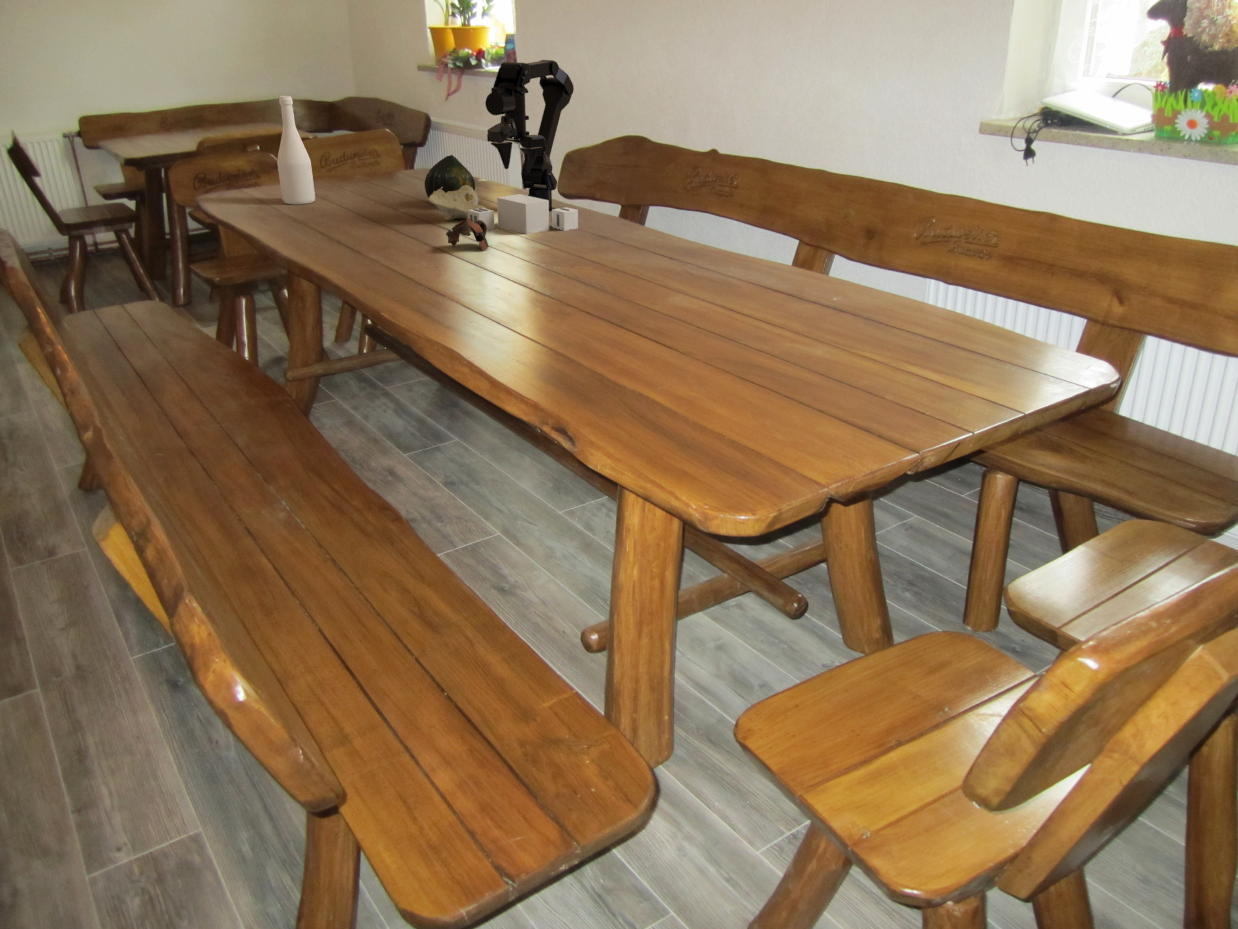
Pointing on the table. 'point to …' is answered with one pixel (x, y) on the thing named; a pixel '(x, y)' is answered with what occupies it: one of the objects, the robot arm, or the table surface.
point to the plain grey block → (523, 213)
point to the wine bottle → (293, 161)
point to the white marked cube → (482, 216)
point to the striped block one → (565, 218)
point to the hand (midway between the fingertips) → (517, 170)
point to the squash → (448, 176)
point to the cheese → (455, 202)
